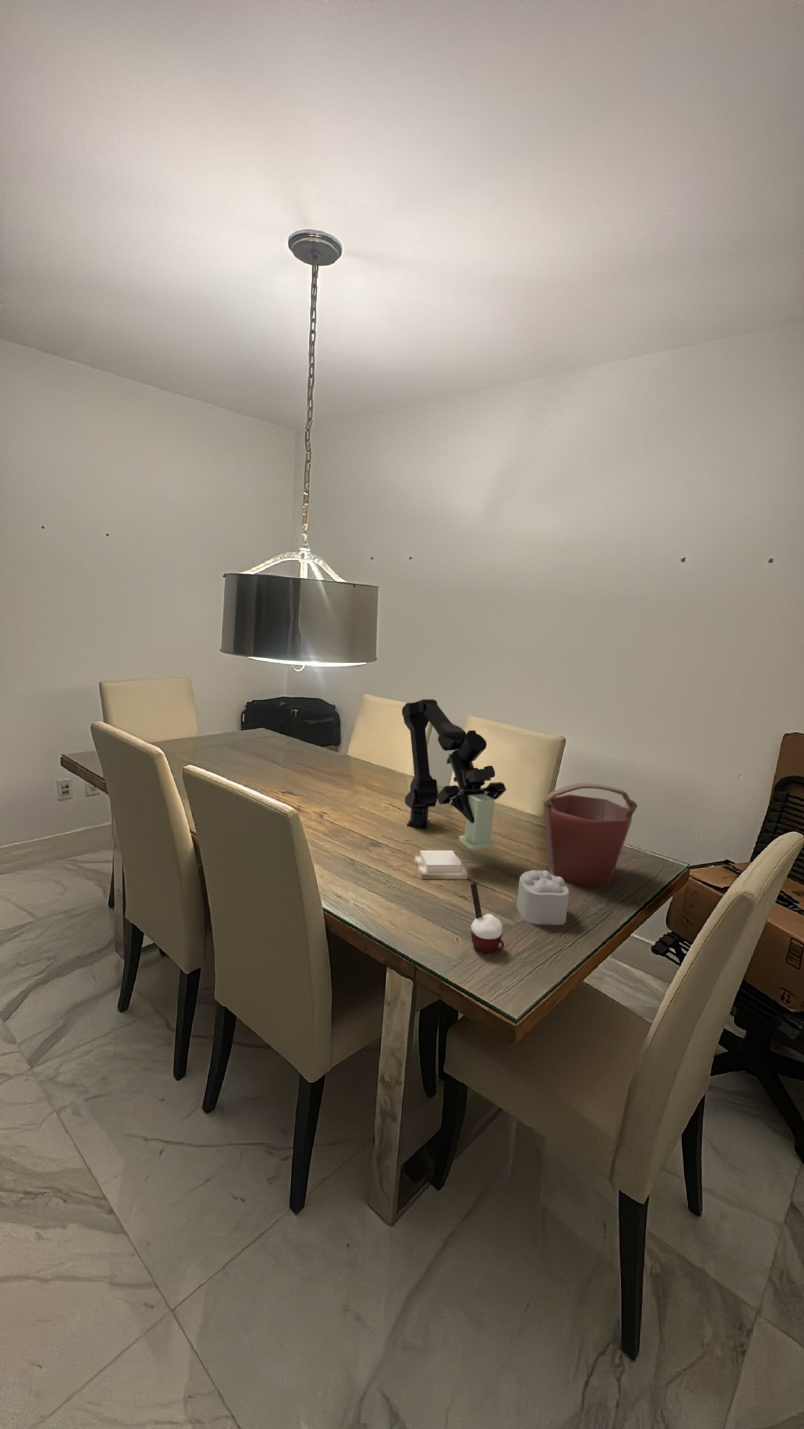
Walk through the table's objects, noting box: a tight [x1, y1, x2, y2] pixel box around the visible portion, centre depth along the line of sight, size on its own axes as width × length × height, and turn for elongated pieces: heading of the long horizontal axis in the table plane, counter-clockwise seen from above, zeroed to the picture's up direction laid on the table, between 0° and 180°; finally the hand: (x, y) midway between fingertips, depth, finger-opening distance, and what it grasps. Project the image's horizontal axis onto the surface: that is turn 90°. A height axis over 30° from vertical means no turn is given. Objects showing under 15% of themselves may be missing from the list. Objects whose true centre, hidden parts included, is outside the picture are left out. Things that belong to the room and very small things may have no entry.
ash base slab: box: [413, 854, 469, 880], centre depth 160 cm, size 12×12×2 cm
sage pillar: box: [458, 794, 496, 851], centre depth 160 cm, size 7×7×13 cm
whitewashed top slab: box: [419, 850, 461, 872], centre depth 160 cm, size 9×9×2 cm
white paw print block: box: [516, 869, 570, 926], centre depth 141 cm, size 10×13×9 cm
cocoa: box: [470, 882, 505, 953], centre depth 123 cm, size 10×6×12 cm, turn 18°
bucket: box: [542, 782, 638, 888], centre depth 161 cm, size 24×22×25 cm
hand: (481, 821), depth 159 cm, fingers closed on sage pillar, 5 cm apart
